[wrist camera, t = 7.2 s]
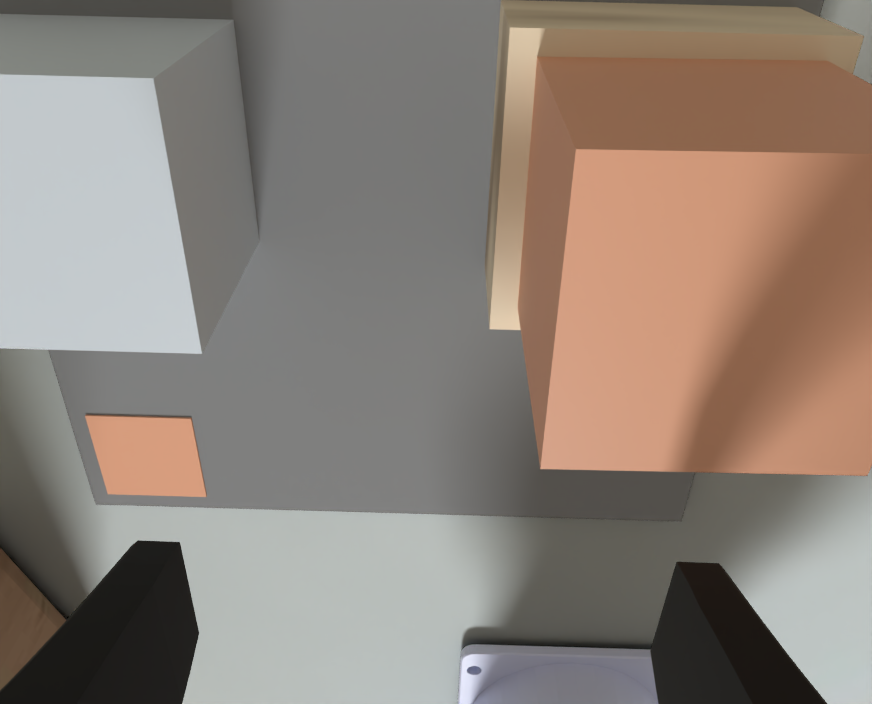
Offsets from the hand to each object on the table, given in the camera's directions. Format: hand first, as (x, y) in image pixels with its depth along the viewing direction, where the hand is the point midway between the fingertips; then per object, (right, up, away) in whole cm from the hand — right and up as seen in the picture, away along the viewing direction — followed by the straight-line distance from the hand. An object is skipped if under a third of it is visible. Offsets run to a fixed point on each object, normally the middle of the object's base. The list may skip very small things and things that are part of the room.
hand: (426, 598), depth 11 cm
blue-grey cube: (-7, +9, +6) cm, 12 cm away
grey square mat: (-1, +6, +8) cm, 10 cm away
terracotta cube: (+4, +7, +3) cm, 9 cm away
